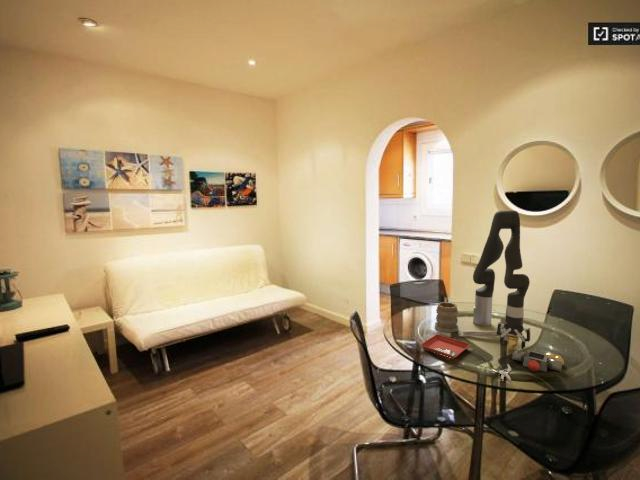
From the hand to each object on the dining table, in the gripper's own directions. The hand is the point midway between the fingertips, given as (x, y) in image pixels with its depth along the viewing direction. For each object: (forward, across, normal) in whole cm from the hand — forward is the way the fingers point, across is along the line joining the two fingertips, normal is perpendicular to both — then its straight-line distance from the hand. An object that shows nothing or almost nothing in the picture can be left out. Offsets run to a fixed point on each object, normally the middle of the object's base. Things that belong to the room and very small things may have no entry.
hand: (512, 346), depth 172 cm
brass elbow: (+1, +15, +1) cm, 15 cm away
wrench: (+3, -13, +9) cm, 16 cm away
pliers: (+4, 0, -24) cm, 24 cm away
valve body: (+3, +11, -10) cm, 15 cm away
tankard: (+3, -37, +14) cm, 40 cm away
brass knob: (+3, 0, 0) cm, 3 cm away
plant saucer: (+4, -27, -17) cm, 32 cm away
